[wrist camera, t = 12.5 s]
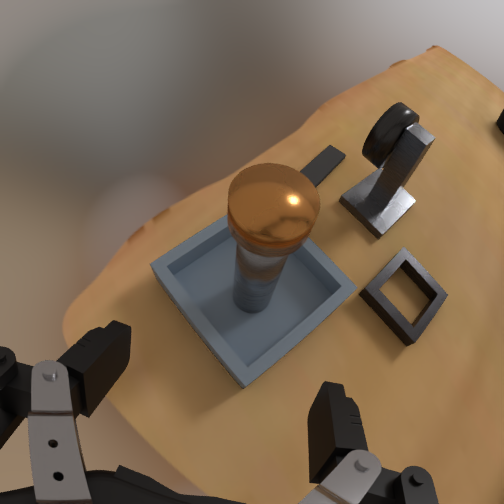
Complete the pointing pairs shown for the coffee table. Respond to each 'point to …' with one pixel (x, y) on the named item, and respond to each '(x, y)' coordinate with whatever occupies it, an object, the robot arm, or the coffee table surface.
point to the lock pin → (267, 228)
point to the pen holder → (501, 122)
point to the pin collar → (390, 312)
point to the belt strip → (323, 165)
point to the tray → (235, 320)
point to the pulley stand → (388, 169)
